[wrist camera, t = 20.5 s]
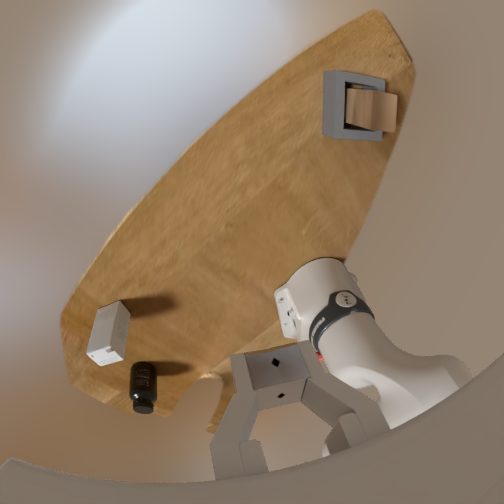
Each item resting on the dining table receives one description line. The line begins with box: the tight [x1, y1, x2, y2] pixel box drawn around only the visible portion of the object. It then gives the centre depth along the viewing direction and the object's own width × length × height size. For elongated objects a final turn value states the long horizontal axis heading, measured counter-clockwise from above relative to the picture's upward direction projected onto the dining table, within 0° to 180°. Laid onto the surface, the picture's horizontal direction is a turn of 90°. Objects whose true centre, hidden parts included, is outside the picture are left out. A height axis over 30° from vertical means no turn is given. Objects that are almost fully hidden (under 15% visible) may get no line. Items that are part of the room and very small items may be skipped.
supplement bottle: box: [129, 363, 157, 414], centre depth 55 cm, size 7×7×12 cm
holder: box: [322, 70, 385, 142], centre depth 36 cm, size 10×9×4 cm
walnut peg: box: [344, 88, 397, 133], centre depth 33 cm, size 4×6×10 cm
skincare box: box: [86, 301, 130, 366], centre depth 44 cm, size 6×4×12 cm
